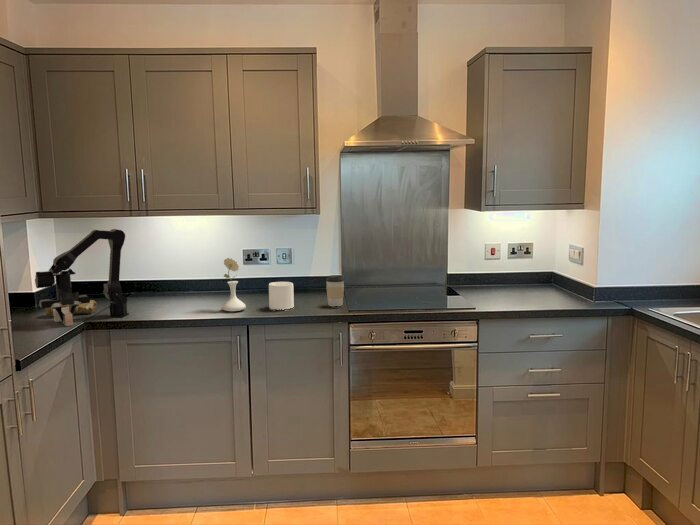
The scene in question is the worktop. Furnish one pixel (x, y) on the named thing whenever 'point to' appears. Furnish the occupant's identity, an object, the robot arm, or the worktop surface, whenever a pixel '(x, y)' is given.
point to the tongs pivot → (56, 315)
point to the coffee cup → (335, 290)
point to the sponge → (77, 308)
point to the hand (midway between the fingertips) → (66, 320)
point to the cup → (281, 295)
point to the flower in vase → (232, 289)
